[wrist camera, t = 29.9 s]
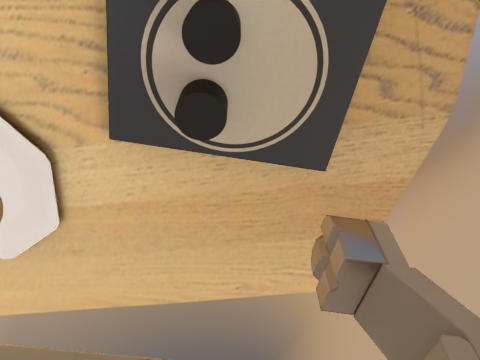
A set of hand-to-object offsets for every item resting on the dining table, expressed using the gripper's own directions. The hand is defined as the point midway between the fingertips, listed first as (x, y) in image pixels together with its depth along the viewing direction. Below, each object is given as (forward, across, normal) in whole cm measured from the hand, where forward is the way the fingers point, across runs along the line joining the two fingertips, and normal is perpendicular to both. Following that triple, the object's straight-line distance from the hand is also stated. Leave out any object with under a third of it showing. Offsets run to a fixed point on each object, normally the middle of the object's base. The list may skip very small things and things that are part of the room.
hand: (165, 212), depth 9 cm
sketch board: (+23, -2, +3) cm, 23 cm away
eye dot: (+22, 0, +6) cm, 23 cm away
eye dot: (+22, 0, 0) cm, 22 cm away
